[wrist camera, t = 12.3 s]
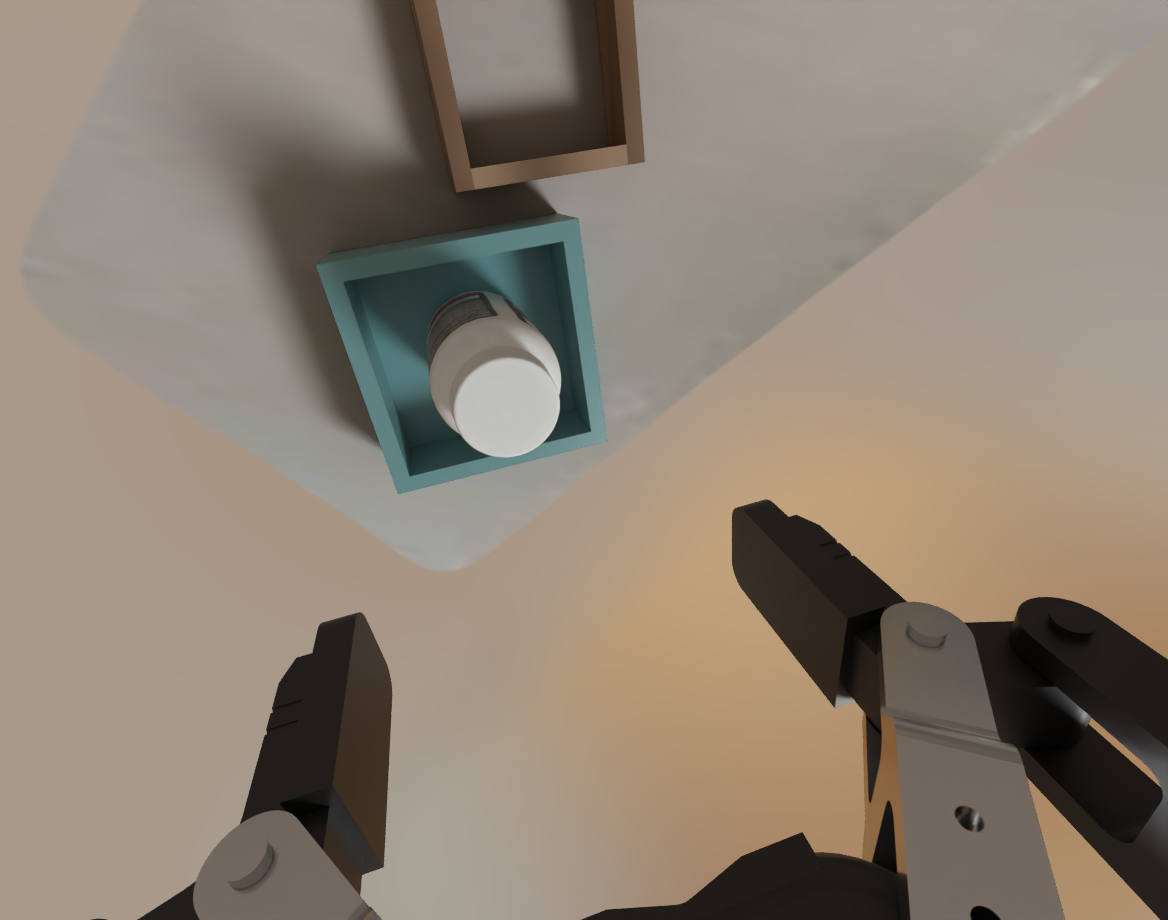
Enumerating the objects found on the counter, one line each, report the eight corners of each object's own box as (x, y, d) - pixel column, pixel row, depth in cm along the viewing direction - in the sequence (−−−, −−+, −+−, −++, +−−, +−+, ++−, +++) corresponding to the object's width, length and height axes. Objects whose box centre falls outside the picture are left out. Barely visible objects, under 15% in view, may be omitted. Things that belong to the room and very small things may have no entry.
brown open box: (606, -70, 23) (626, -95, 21) (626, 163, 27) (644, 162, 25) (397, -52, 21) (396, -77, 19) (452, 191, 26) (456, 192, 23)
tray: (557, 213, 27) (578, 218, 24) (587, 413, 33) (607, 441, 29) (328, 253, 25) (315, 265, 22) (399, 458, 31) (397, 494, 27)
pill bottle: (422, 387, 29) (426, 472, 20) (429, 281, 26) (436, 326, 18) (524, 395, 30) (567, 476, 22) (538, 296, 28) (591, 344, 20)
